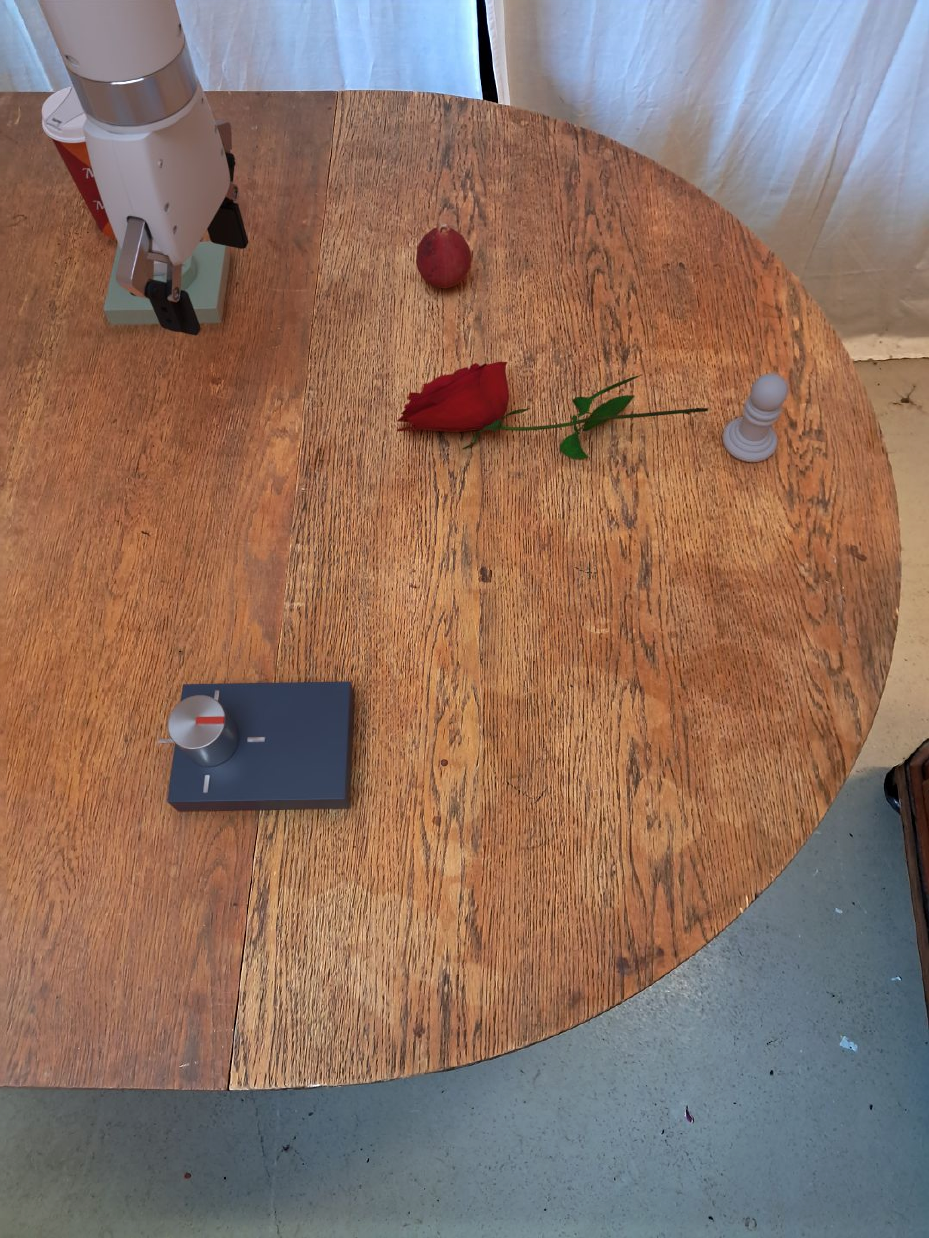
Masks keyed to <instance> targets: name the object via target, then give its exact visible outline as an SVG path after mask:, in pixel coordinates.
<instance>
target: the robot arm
mask: <svg viewBox="0 0 929 1238" xmlns="http://www.w3.org/2000/svg"><path fill="white" fill-rule="evenodd" d="M37 2H38V5H39V6H40V9H41V12H42V13H43V16H44V18H45V21H46V23H47V26H48V28H49V30H50V31H49V32H50V33H51V35H52V37H53V40H54V43H55V45H56V47H57V50H58V53H59V54H60V57H61V61H62V62H63V64H64V66H65V69H66V71H67V74H68V77H69V79H70V82H71V85H72V86H74V89H75V91H76V94H77V96H78V98H79V101H80V104H81V106H82V109H83V111H84V113H85V115H86V117H87V119H86V121H85V123H84V126H83V129H84V134H85V140H86V146H87V150H88V154H89V159H90V163H91V167H92V170H93V174H94V177H95V181H96V184H97V187H98V190H99V193H100V196H101V199H102V202H103V205H104V208H105V211H106V213H107V216H108V219H109V222H110V224H111V227H112V229H113V232H114V234H115V237H116V238H115V239H116V241H117V245H118V244H119V246H120V248H121V250H122V251H121V255H120V260H119V264H118V268H117V273H116V281H117V283H118V284H119V285H120V286H122V287H123V288H124V289H126V290H127V291H129V292H130V294H131V295H133V296H138V297H143V298H147V299H149V300H150V302H151V305H152V307H153V309H154V312H155V314H156V316H157V319H158V321H159V323H160V324H159V325H160V326H161V327H162V329H164V330H168V331H170V332H175V333H181V334H182V333H183V334H187V335H190V336H191V335H192V336H198V335H199V334H200V332H201V329H202V328H201V323H199V321H198V319H197V316H196V313H195V311H194V308H193V305H192V303H191V300H190V297H189V295H188V293H187V292H186V291H184V290H181V273H182V263H183V262H184V261H186V260H187V259H188V258H189V257H190V255H191V254H192V253H193V251H194V250H195V248H196V246H197V245H198V243H199V242H201V240H202V238H203V237H204V234H205V233H206V231H207V234H208V237H209V239H210V241H211V242H213V243H215V244H220V245H225V246H228V247H230V248H234V249H240V250H244V249H246V248H247V246H248V245H249V243H250V241H249V238H248V234H247V230H246V227H245V225H244V224H245V223H244V220H243V216H242V213H241V210H240V209H241V208H240V205H239V203H237V202H236V201H237V200H238V198H239V194H240V193H239V190H240V189H239V186H238V185H237V184H236V183H234V176H235V167H236V163H237V162H236V158H235V157H236V156H235V155H234V153H233V152H231V151H232V150H233V137H232V134H233V133H232V124H231V122H230V121H225V120H220V119H215V116H214V114H213V111H212V108H211V106H210V104H209V101H208V98H207V96H206V93H205V90H204V88H203V87H202V84H201V82H200V79H199V77H198V75H197V73H196V70H195V69H196V68H195V66H194V63H193V59H192V55H191V51H190V48H189V45H188V41H187V37H186V34H185V32H184V28H183V23H182V19H181V17H180V13H179V10H178V6H177V2H176V0H37ZM153 240H154V243H155V244H156V245H157V247H158V248H159V249H160V250H161V251H162V252H161V251H156V250H152V244H153ZM154 261H158V262H163V263H167V277H166V282H162V281H158V280H154Z"/></svg>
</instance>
